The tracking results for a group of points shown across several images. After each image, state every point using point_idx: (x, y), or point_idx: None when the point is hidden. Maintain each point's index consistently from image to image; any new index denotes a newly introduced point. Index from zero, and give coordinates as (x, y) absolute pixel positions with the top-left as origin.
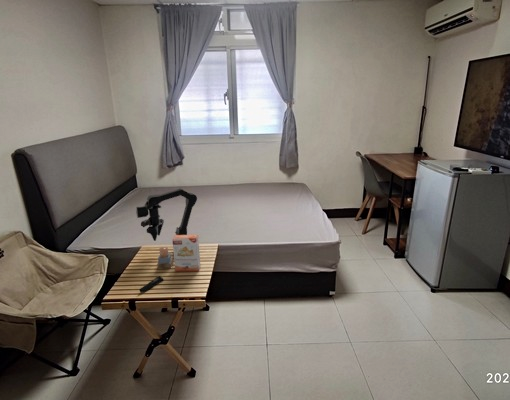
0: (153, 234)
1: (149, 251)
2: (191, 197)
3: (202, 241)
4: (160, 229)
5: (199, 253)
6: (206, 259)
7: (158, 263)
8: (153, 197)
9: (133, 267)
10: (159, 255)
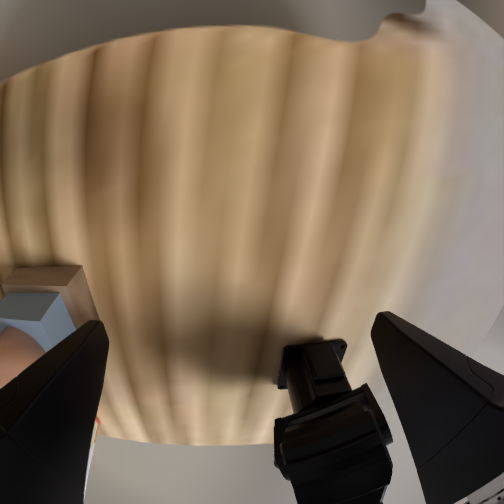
0: (19, 441)
1: (329, 99)
2: None
3: (378, 396)
4: (413, 437)
5: (87, 470)
6: (165, 436)
7: (11, 290)
8: None
9: (22, 87)
10: (18, 320)
